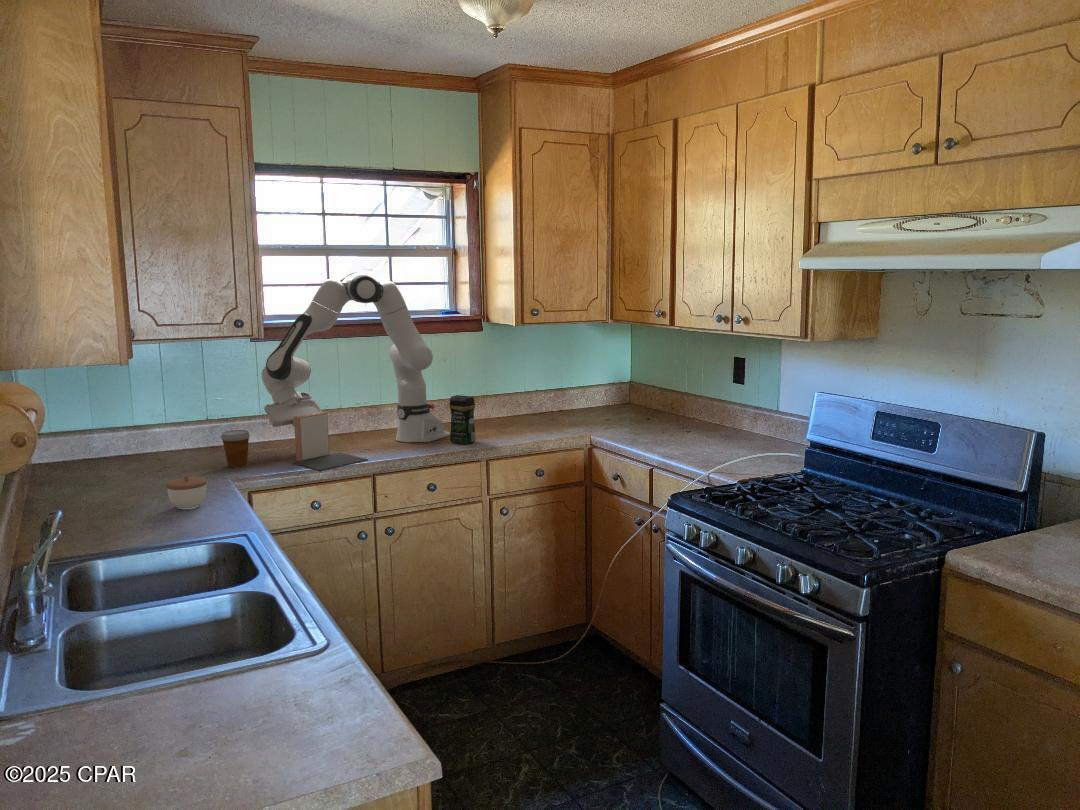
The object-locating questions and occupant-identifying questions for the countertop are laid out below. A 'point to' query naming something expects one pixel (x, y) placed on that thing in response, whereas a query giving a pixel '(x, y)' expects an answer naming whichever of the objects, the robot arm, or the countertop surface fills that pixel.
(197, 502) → the lidded jar
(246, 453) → the disposable coffee cup
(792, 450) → the countertop surface
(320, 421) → the tile
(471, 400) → the coffee jar
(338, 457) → the mat
